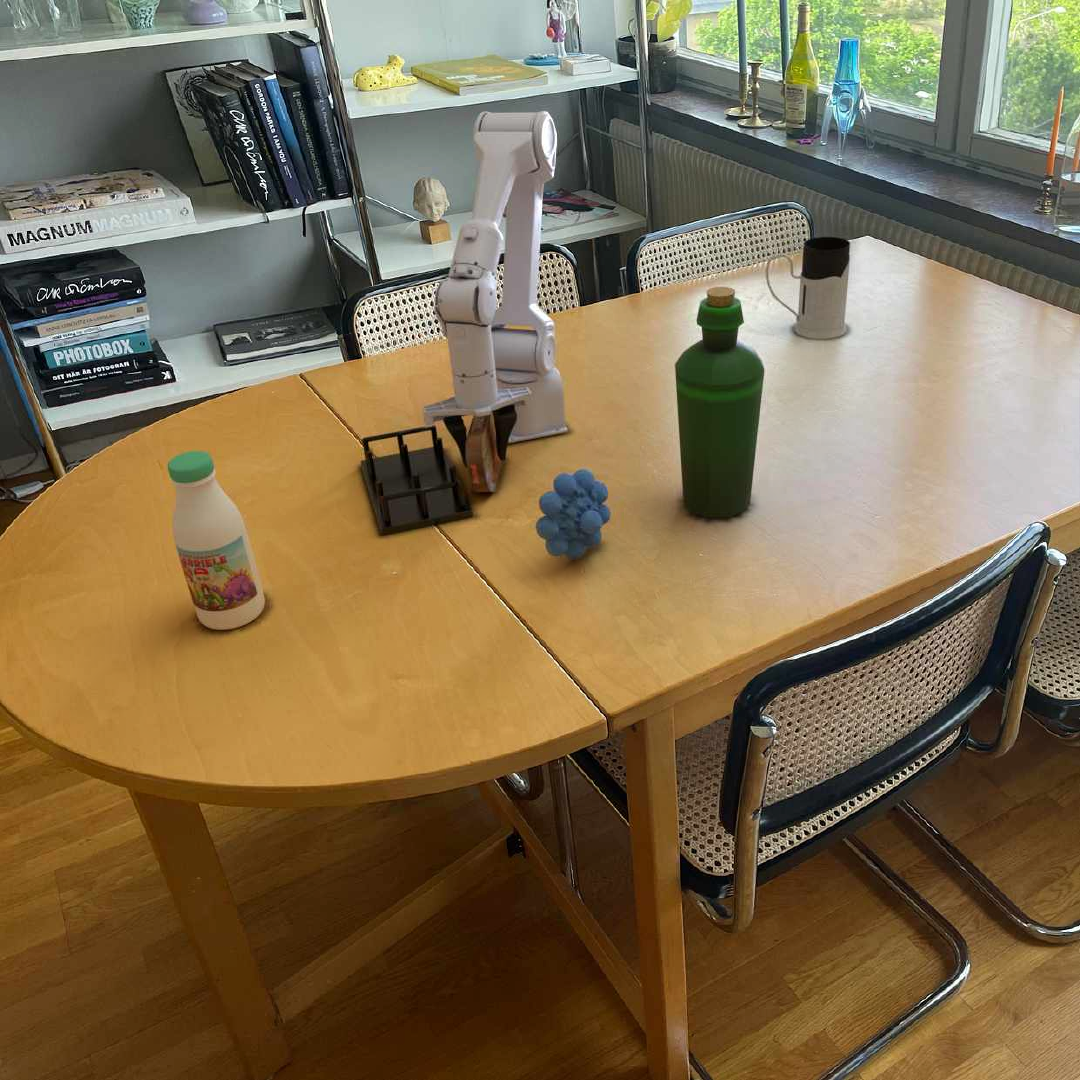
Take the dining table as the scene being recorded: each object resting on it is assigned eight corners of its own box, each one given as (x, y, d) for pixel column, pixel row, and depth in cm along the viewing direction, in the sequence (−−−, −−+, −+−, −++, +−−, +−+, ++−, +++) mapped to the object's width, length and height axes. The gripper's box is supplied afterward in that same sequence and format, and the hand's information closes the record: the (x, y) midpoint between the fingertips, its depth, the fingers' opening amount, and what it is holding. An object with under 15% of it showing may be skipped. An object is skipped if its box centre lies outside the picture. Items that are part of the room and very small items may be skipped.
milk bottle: (205, 596, 123) (160, 446, 112) (270, 589, 123) (231, 439, 113) (192, 635, 116) (143, 480, 106) (261, 627, 117) (218, 472, 106)
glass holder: (852, 337, 175) (860, 249, 167) (767, 342, 176) (771, 255, 168) (840, 318, 183) (847, 234, 175) (759, 324, 183) (762, 239, 175)
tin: (491, 503, 137) (485, 446, 132) (468, 504, 137) (460, 447, 132) (505, 451, 149) (500, 397, 145) (484, 451, 150) (478, 397, 145)
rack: (443, 451, 151) (439, 420, 148) (473, 516, 134) (469, 483, 131) (361, 466, 148) (355, 435, 146) (381, 535, 132) (375, 502, 129)
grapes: (568, 592, 118) (562, 501, 112) (527, 571, 123) (519, 482, 116) (635, 549, 125) (633, 461, 118) (594, 530, 129) (590, 444, 123)
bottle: (764, 487, 135) (775, 277, 120) (751, 529, 127) (760, 310, 112) (684, 479, 138) (684, 274, 123) (665, 520, 130) (664, 305, 115)
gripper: (424, 390, 130) (437, 484, 137) (535, 370, 133) (542, 463, 140) (414, 369, 136) (427, 461, 143) (520, 351, 138) (528, 441, 146)
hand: (483, 460), depth 142 cm, fingers closed on tin, 4 cm apart
